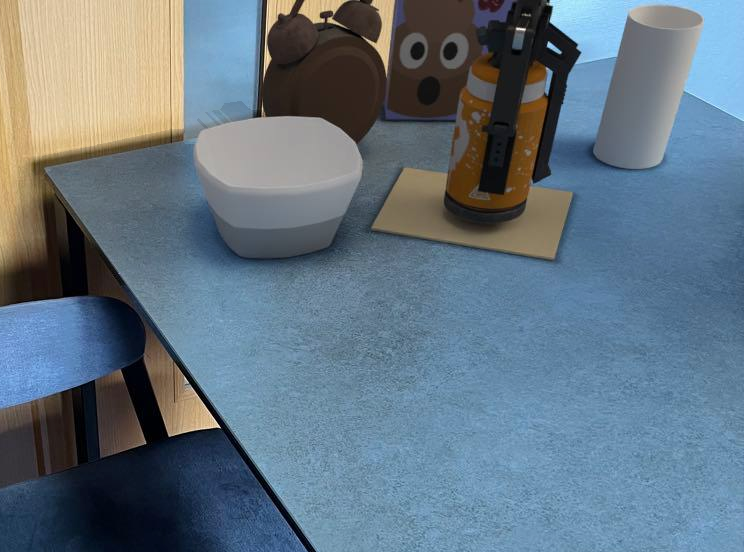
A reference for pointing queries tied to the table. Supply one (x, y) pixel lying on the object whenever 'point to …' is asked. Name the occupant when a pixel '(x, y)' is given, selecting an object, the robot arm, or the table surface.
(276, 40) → the alarm clock
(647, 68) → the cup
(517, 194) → the canister
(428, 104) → the cereal box
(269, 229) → the bowl
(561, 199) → the mat
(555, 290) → the table surface
